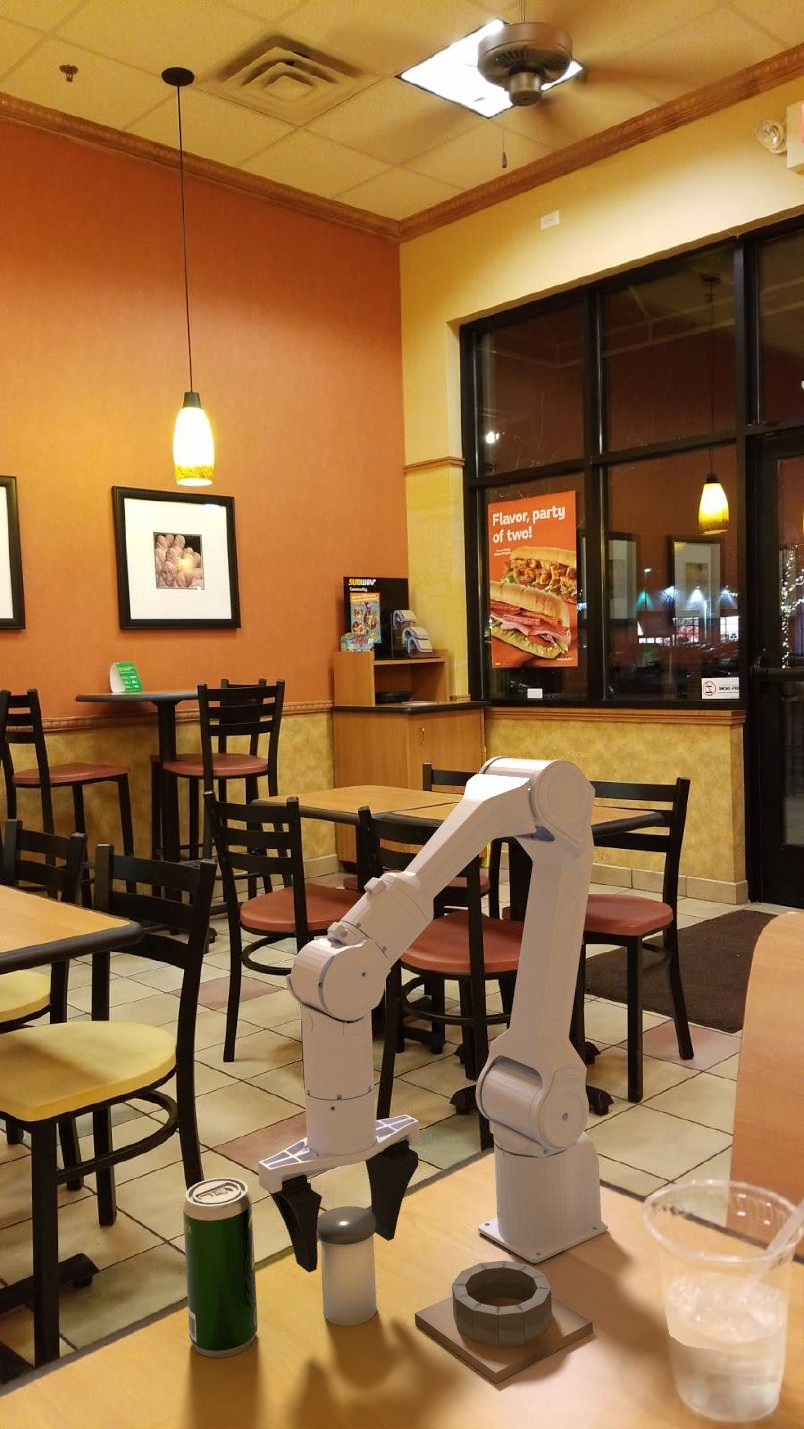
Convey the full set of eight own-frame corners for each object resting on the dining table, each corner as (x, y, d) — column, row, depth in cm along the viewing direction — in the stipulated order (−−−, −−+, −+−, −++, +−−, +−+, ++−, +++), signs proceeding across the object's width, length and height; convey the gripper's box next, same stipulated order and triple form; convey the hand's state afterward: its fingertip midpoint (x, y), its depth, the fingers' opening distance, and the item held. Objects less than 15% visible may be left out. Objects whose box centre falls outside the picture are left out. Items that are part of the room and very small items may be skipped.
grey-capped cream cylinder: (358, 1286, 95) (354, 1200, 95) (392, 1311, 91) (388, 1222, 91) (308, 1307, 92) (304, 1219, 92) (340, 1335, 88) (336, 1242, 88)
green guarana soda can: (206, 1369, 85) (198, 1214, 84) (179, 1335, 89) (171, 1188, 89) (269, 1343, 88) (262, 1193, 87) (240, 1312, 92) (233, 1170, 92)
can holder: (508, 1278, 95) (506, 1241, 95) (592, 1331, 87) (591, 1290, 87) (415, 1322, 90) (413, 1282, 89) (496, 1383, 81) (494, 1339, 81)
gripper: (383, 1055, 99) (390, 1205, 99) (237, 1096, 90) (245, 1260, 91) (432, 1076, 93) (438, 1235, 93) (280, 1121, 85) (288, 1297, 85)
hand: (346, 1250), depth 92 cm, fingers open, 7 cm apart
